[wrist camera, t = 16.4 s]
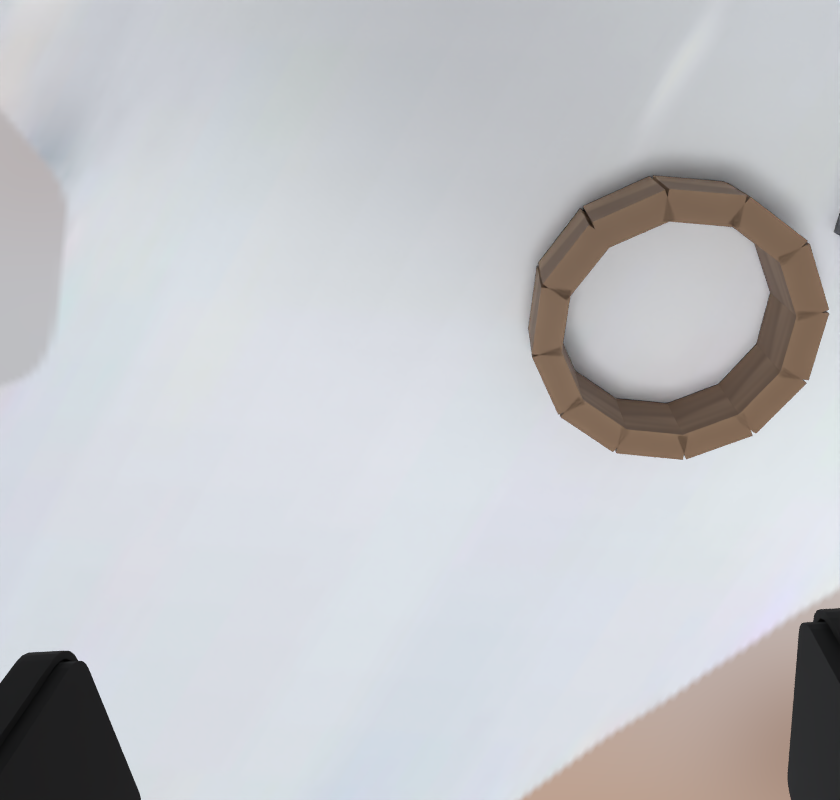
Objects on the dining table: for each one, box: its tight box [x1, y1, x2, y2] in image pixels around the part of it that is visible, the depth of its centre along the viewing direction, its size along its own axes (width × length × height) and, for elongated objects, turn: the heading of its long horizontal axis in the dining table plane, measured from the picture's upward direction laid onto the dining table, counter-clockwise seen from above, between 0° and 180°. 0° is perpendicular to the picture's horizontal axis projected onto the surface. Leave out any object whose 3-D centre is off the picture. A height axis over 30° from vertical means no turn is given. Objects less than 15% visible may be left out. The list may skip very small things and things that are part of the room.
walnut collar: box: [528, 175, 829, 460], centre depth 42 cm, size 14×14×4 cm
